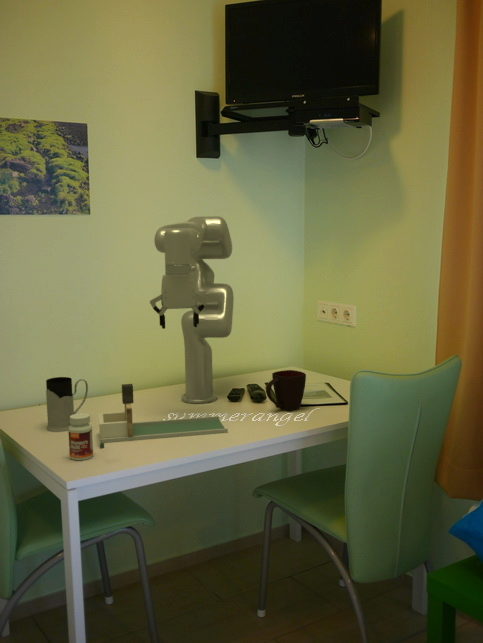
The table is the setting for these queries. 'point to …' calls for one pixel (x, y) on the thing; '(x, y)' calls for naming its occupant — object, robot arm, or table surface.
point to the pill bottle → (80, 437)
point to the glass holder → (60, 403)
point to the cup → (287, 389)
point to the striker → (128, 405)
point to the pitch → (155, 428)
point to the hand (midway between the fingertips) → (179, 327)
